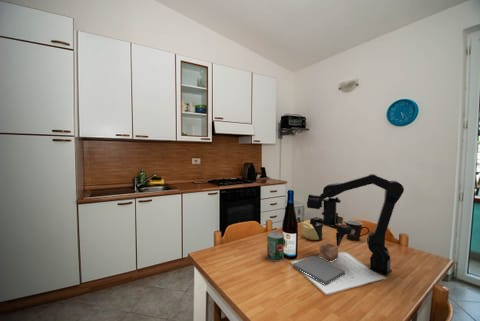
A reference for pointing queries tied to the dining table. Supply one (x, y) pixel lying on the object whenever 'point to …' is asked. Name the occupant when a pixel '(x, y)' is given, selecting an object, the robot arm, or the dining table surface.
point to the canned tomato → (275, 246)
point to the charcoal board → (319, 269)
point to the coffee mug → (355, 230)
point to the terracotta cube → (328, 251)
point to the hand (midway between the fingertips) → (329, 242)
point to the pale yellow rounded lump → (310, 231)
